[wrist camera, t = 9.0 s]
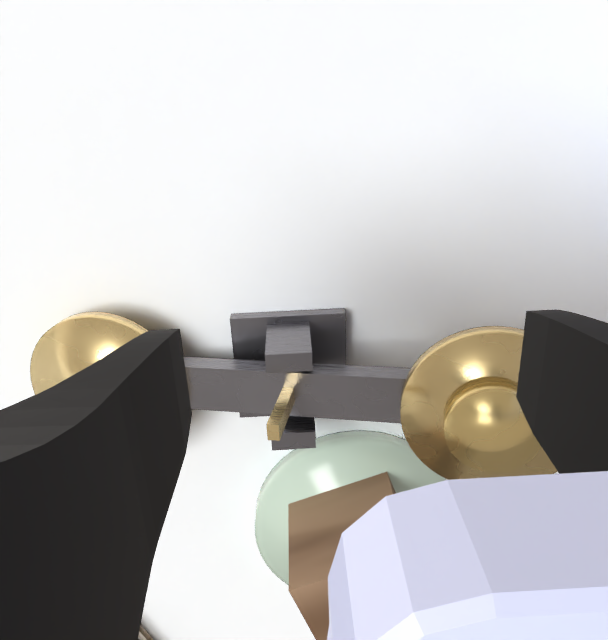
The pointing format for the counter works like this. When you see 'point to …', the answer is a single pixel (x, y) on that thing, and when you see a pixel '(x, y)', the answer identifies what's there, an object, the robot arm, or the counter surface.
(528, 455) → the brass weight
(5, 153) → the counter surface
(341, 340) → the balance stand
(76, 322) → the balance beam
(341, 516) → the walnut block
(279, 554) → the dish
